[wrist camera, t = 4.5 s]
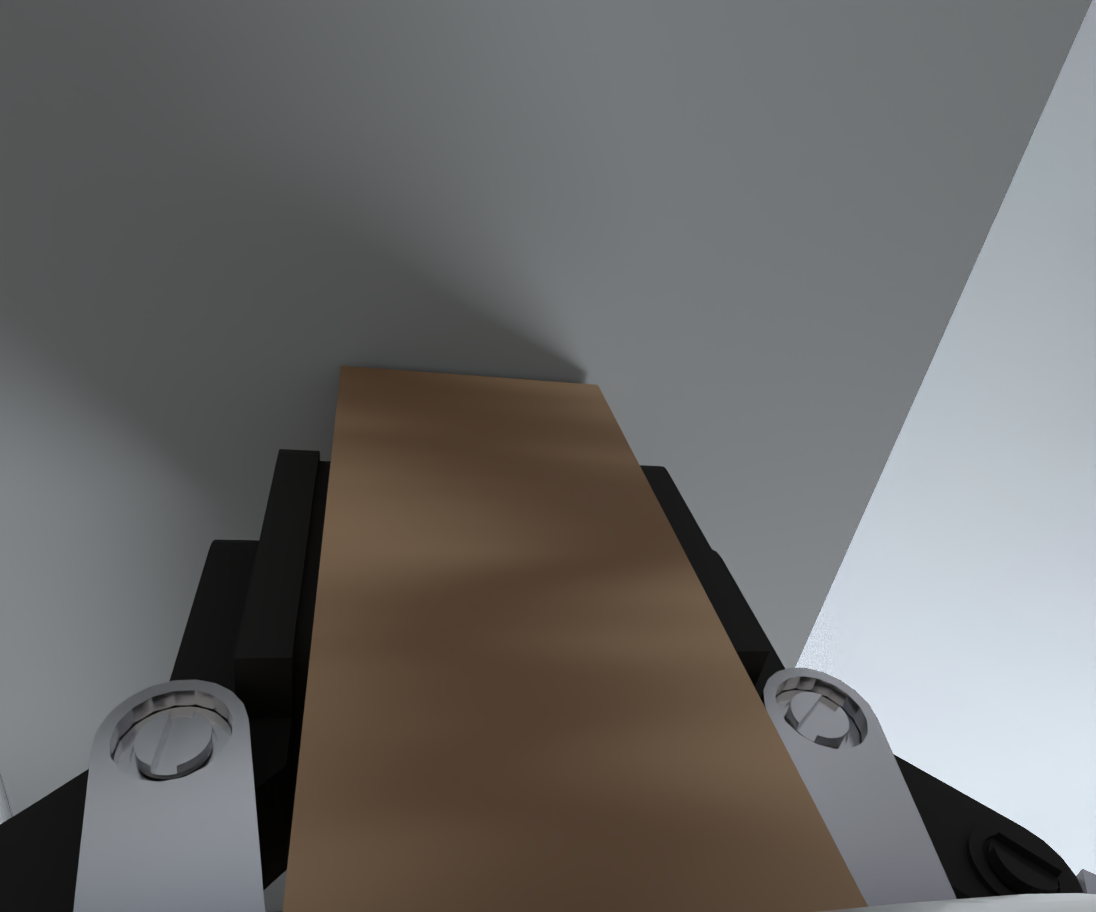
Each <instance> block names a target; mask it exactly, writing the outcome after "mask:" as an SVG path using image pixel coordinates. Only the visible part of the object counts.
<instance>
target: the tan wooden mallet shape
mask: <svg viewBox="0 0 1096 912" xmlns="http://www.w3.org/2000/svg"><path fill="white" fill-rule="evenodd" d="M860 907H868V905H867V903H866V902H865V900H864V898H863V896H862V894H861V892H860V890H859V888H858V886H857V884H856V882H855V880H854V878H853V876H852V874H851V873H850V871H849V869H848V867H847V865H846V863H845V861H844V859H843V857H842V855H841V853H840V851H839V849H838V847H837V845H836V844H835V842H834V840H833V838H832V836H831V834H830V832H829V830H828V828H827V826H826V824H825V822H824V820H823V818H822V817H821V815H820V813H819V811H818V809H817V807H816V805H815V803H814V801H813V799H812V797H811V795H810V793H809V791H808V789H807V788H806V786H805V784H804V782H803V780H802V778H801V776H800V774H799V772H798V770H797V768H796V766H795V764H794V762H793V761H792V759H791V757H790V755H789V753H788V751H787V749H786V747H785V745H784V743H783V741H782V739H781V737H780V735H779V733H778V732H777V730H776V728H775V726H774V724H773V722H772V720H771V718H770V716H769V714H768V712H767V710H766V708H765V706H764V705H763V703H762V701H761V699H760V697H759V695H758V693H757V691H756V689H755V687H754V685H753V683H752V681H751V679H750V677H749V676H748V674H747V672H746V670H745V668H744V666H743V664H742V662H741V660H740V658H739V656H738V654H737V652H736V650H735V649H734V647H733V645H732V643H731V641H730V639H729V637H728V635H727V633H726V631H725V629H724V627H723V625H722V623H721V621H720V620H719V618H718V616H717V614H716V612H715V610H714V608H713V606H712V604H711V602H710V600H709V598H708V596H707V594H706V593H705V591H704V589H703V587H702V585H701V583H700V581H699V579H698V577H697V575H696V573H695V571H694V569H693V567H692V565H691V564H690V562H689V560H688V558H687V556H686V554H685V552H684V550H683V548H682V546H681V544H680V542H679V540H678V538H677V536H676V535H675V533H674V531H673V529H672V527H671V525H670V523H669V521H668V519H667V517H666V515H665V513H664V511H663V509H662V508H661V506H660V504H659V502H658V500H657V498H656V496H655V494H654V492H653V490H652V488H651V486H650V484H649V482H648V480H647V479H646V477H645V475H644V473H643V471H642V469H641V467H640V465H639V463H638V461H637V459H636V457H635V455H634V453H633V452H632V450H631V448H630V446H629V444H628V442H627V440H626V438H625V436H624V434H623V432H622V430H621V428H620V426H619V424H618V423H617V421H616V419H615V417H614V415H613V413H612V411H611V409H610V407H609V405H608V403H607V401H606V399H605V397H604V396H603V394H602V392H601V390H600V388H599V386H598V385H593V384H580V383H566V382H553V381H540V380H526V379H513V378H500V377H486V376H473V375H460V374H447V373H433V372H420V371H407V370H393V369H380V368H367V367H353V366H341V370H340V380H339V389H338V398H337V408H336V417H335V426H334V436H333V445H332V454H331V464H330V473H329V482H328V492H327V501H326V511H325V520H324V529H323V539H322V548H321V557H320V567H319V576H318V585H317V595H316V604H315V613H314V623H313V632H312V641H311V651H310V660H309V669H308V679H307V688H306V697H305V707H304V716H303V725H302V735H301V744H300V753H299V763H298V772H297V781H296V791H295V800H294V809H293V819H292V828H291V837H290V847H289V856H288V865H287V875H286V884H285V893H284V903H283V912H818V911H829V910H839V909H850V908H860Z"/></svg>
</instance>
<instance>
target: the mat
mask: <svg viewBox="0 0 1096 912" xmlns="http://www.w3.org/2000/svg"><path fill="white" fill-rule="evenodd" d="M1091 1H1092V0H0V774H1V778H2V781H3V785H4V788H5V792H6V796H7V799H8V803H9V806H10V810H11V813H12V817H13V816H15V815H16V814H18V813H20V812H21V811H23V810H24V809H26V808H28V807H29V806H31V805H32V804H34V803H35V802H37V801H39V800H40V799H42V798H43V797H45V796H46V795H48V794H50V793H51V792H53V791H54V790H56V789H58V788H59V787H61V786H62V785H64V784H65V783H67V782H69V781H70V780H72V779H73V778H75V777H76V776H78V775H80V774H81V773H83V772H84V771H86V770H88V769H89V764H90V755H91V747H92V744H93V741H94V738H95V735H96V732H97V729H98V727H99V726H100V725H101V723H102V722H103V721H104V719H105V718H106V717H107V715H108V714H109V713H110V711H112V710H113V709H114V708H116V707H117V706H118V705H119V704H121V703H122V702H123V701H124V700H126V699H127V698H128V697H130V696H132V695H134V694H136V693H138V692H140V691H142V690H144V689H146V688H148V687H150V686H154V685H158V684H162V683H166V682H169V681H170V678H171V674H172V671H173V668H174V664H175V661H176V658H177V654H178V651H179V648H180V644H181V641H182V638H183V634H184V631H185V628H186V624H187V621H188V618H189V614H190V611H191V608H192V604H193V601H194V598H195V594H196V591H197V588H198V584H199V581H200V578H201V574H202V571H203V568H204V564H205V561H206V558H207V554H208V551H209V548H210V546H211V543H212V542H213V541H214V540H215V539H216V540H259V539H260V534H261V530H262V525H263V520H264V516H265V511H266V507H267V502H268V497H269V493H270V488H271V484H272V479H273V474H274V470H275V465H276V461H277V456H278V452H279V449H291V450H314V451H320V461H331V454H332V445H333V436H334V426H335V417H336V408H337V398H338V389H339V380H340V370H341V366H353V367H367V368H380V369H393V370H407V371H420V372H433V373H447V374H460V375H473V376H486V377H500V378H513V379H526V380H540V381H553V382H566V383H580V384H593V385H598V386H599V388H600V390H601V392H602V394H603V396H604V397H605V399H606V401H607V403H608V405H609V407H610V409H611V411H612V413H613V415H614V417H615V419H616V421H617V423H618V424H619V426H620V428H621V430H622V432H623V434H624V436H625V438H626V440H627V442H628V444H629V446H630V448H631V450H632V452H633V453H634V455H635V457H636V459H637V461H638V463H639V465H647V466H663V467H665V468H666V469H667V471H668V473H669V474H670V476H671V478H672V480H673V481H674V483H675V485H676V487H677V488H678V490H679V492H680V494H681V496H682V497H683V499H684V501H685V503H686V504H687V506H688V508H689V510H690V511H691V513H692V515H693V517H694V518H695V520H696V522H697V524H698V526H699V527H700V529H701V531H702V533H703V534H704V536H705V538H706V540H707V541H708V543H709V545H710V547H711V548H712V550H714V551H717V553H718V554H719V555H720V556H721V558H722V559H723V561H724V563H725V564H726V566H727V568H728V570H729V571H730V573H731V575H732V577H733V578H734V580H735V582H736V584H737V585H738V587H739V589H740V591H741V592H742V594H743V596H744V598H745V599H746V601H747V603H748V605H749V606H750V608H751V610H752V611H753V613H754V615H755V617H756V618H757V620H758V622H759V624H760V625H761V627H762V629H763V631H764V632H765V634H766V636H767V638H768V639H769V641H770V643H771V645H772V646H773V648H774V650H775V651H776V653H777V655H778V657H779V658H780V660H781V662H782V664H783V665H784V667H785V669H788V668H795V666H796V664H797V662H798V659H799V657H800V655H801V653H802V650H803V648H804V646H805V644H806V642H807V639H808V637H809V635H810V633H811V630H812V628H813V626H814V624H815V621H816V619H817V617H818V615H819V612H820V610H821V608H822V606H823V603H824V601H825V599H826V597H827V594H828V592H829V590H830V588H831V585H832V583H833V581H834V579H835V576H836V574H837V572H838V570H839V567H840V565H841V563H842V561H843V558H844V556H845V554H846V552H847V549H848V547H849V545H850V543H851V540H852V538H853V536H854V534H855V531H856V529H857V527H858V525H859V522H860V520H861V518H862V516H863V513H864V511H865V509H866V507H867V504H868V502H869V500H870V498H871V495H872V493H873V491H874V489H875V487H876V484H877V482H878V480H879V478H880V475H881V473H882V471H883V469H884V466H885V464H886V462H887V460H888V457H889V455H890V453H891V451H892V448H893V446H894V444H895V442H896V439H897V437H898V435H899V433H900V430H901V428H902V426H903V424H904V421H905V419H906V417H907V415H908V412H909V410H910V408H911V406H912V403H913V401H914V399H915V397H916V394H917V392H918V390H919V388H920V385H921V383H922V381H923V379H924V376H925V374H926V372H927V370H928V367H929V365H930V363H931V361H932V358H933V356H934V354H935V352H936V349H937V347H938V345H939V343H940V340H941V338H942V336H943V334H944V331H945V329H946V327H947V325H948V323H949V320H950V318H951V316H952V314H953V311H954V309H955V307H956V305H957V302H958V300H959V298H960V296H961V293H962V291H963V289H964V287H965V284H966V282H967V280H968V278H969V275H970V273H971V271H972V269H973V266H974V264H975V262H976V260H977V257H978V255H979V253H980V251H981V248H982V246H983V244H984V242H985V239H986V237H987V235H988V233H989V230H990V228H991V226H992V224H993V221H994V219H995V217H996V215H997V212H998V210H999V208H1000V206H1001V203H1002V201H1003V199H1004V197H1005V194H1006V192H1007V190H1008V188H1009V185H1010V183H1011V181H1012V179H1013V176H1014V174H1015V172H1016V170H1017V168H1018V165H1019V163H1020V161H1021V159H1022V156H1023V154H1024V152H1025V150H1026V147H1027V145H1028V143H1029V141H1030V138H1031V136H1032V134H1033V132H1034V129H1035V127H1036V125H1037V123H1038V120H1039V118H1040V116H1041V114H1042V111H1043V109H1044V107H1045V105H1046V102H1047V100H1048V98H1049V96H1050V93H1051V91H1052V89H1053V87H1054V84H1055V82H1056V80H1057V78H1058V75H1059V73H1060V71H1061V69H1062V66H1063V64H1064V62H1065V60H1066V57H1067V55H1068V53H1069V51H1070V48H1071V46H1072V44H1073V42H1074V39H1075V37H1076V35H1077V33H1078V30H1079V28H1080V26H1081V24H1082V21H1083V19H1084V17H1085V15H1086V12H1087V10H1088V8H1089V6H1090V4H1091ZM286 875H287V870H286V871H285V872H284V873H283V874H281V875H280V876H279V877H278V878H277V879H276V880H275V881H274V882H273V883H271V884H270V885H269V886H268V887H267V888H266V889H265V890H264V891H263V893H264V905H265V912H275V911H283V903H284V893H285V884H286Z"/></svg>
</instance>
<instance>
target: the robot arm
mask: <svg viewBox="0 0 1096 912" xmlns="http://www.w3.org/2000/svg"><path fill="white" fill-rule="evenodd" d="M330 464H331V461H320V451H314V450H291V449H279V452H278V456H277V461H276V465H275V470H274V474H273V479H272V484H271V488H270V493H269V497H268V502H267V507H266V511H265V516H264V520H263V525H262V530H261V534H260V539H259V540H216V539H215V540H214V541H213V542H212V543H211V546H210V548H209V551H208V554H207V558H206V561H205V564H204V568H203V571H202V574H201V578H200V581H199V584H198V588H197V591H196V594H195V598H194V601H193V604H192V608H191V611H190V614H189V618H188V621H187V624H186V628H185V631H184V634H183V638H182V641H181V644H180V648H179V651H178V654H177V658H176V661H175V664H174V668H173V671H172V674H171V678H170V681H169V682H166V683H162V684H158V685H154V686H150V687H148V688H146V689H144V690H142V691H140V692H138V693H136V694H134V695H132V696H130V697H128V698H127V699H126V700H124V701H123V702H122V703H121V704H119V705H118V706H117V707H116V708H114V709H113V710H112V711H110V713H109V714H108V715H107V717H106V718H105V719H104V721H103V722H102V723H101V725H100V726H99V727H98V729H97V732H96V735H95V738H94V741H93V744H92V747H91V755H90V764H89V769H88V770H86V771H84V772H83V773H81V774H80V775H78V776H76V777H75V778H73V779H72V780H70V781H69V782H67V783H65V784H64V785H62V786H61V787H59V788H58V789H56V790H54V791H53V792H51V793H50V794H48V795H46V796H45V797H43V798H42V799H40V800H39V801H37V802H35V803H34V804H32V805H31V806H29V807H28V808H26V809H24V810H23V811H21V812H20V813H18V814H16V815H15V816H13V817H12V818H10V819H9V820H7V821H5V822H4V823H2V824H1V825H0V912H265V905H264V893H263V891H264V890H265V889H266V888H267V887H268V886H269V885H270V884H271V883H273V882H274V881H275V880H276V879H277V878H278V877H279V876H280V875H281V874H283V873H284V872H285V871H286V870H287V865H288V856H289V847H290V837H291V828H292V819H293V809H294V800H295V791H296V781H297V772H298V763H299V753H300V744H301V735H302V725H303V716H304V707H305V697H306V688H307V679H308V669H309V660H310V651H311V641H312V632H313V623H314V613H315V604H316V595H317V585H318V576H319V567H320V557H321V548H322V539H323V529H324V520H325V511H326V501H327V492H328V482H329V473H330ZM640 467H641V469H642V471H643V473H644V475H645V477H646V479H647V480H648V482H649V484H650V486H651V488H652V490H653V492H654V494H655V496H656V498H657V500H658V502H659V504H660V506H661V508H662V509H663V511H664V513H665V515H666V517H667V519H668V521H669V523H670V525H671V527H672V529H673V531H674V533H675V535H676V536H677V538H678V540H679V542H680V544H681V546H682V548H683V550H684V552H685V554H686V556H687V558H688V560H689V562H690V564H691V565H692V567H693V569H694V571H695V573H696V575H697V577H698V579H699V581H700V583H701V585H702V587H703V589H704V591H705V593H706V594H707V596H708V598H709V600H710V602H711V604H712V606H713V608H714V610H715V612H716V614H717V616H718V618H719V620H720V621H721V623H722V625H723V627H724V629H725V631H726V633H727V635H728V637H729V639H730V641H731V643H732V645H733V647H734V649H735V650H736V652H737V654H738V656H739V658H740V660H741V662H742V664H743V666H744V668H745V670H746V672H747V674H748V676H749V677H750V679H751V681H752V683H753V685H754V687H755V689H756V691H757V693H758V695H759V697H760V699H761V701H762V703H763V705H764V706H765V708H766V710H767V712H768V714H769V716H770V718H771V720H772V722H773V724H774V726H775V728H776V730H777V732H778V733H779V735H780V737H781V739H782V741H783V743H784V745H785V747H786V749H787V751H788V753H789V755H790V757H791V759H792V761H793V762H794V764H795V766H796V768H797V770H798V772H799V774H800V776H801V778H802V780H803V782H804V784H805V786H806V788H807V789H808V791H809V793H810V795H811V797H812V799H813V801H814V803H815V805H816V807H817V809H818V811H819V813H820V815H821V817H822V818H823V820H824V822H825V824H826V826H827V828H828V830H829V832H830V834H831V836H832V838H833V840H834V842H835V844H836V845H837V847H838V849H839V851H840V853H841V855H842V857H843V859H844V861H845V863H846V865H847V867H848V869H849V871H850V873H851V874H852V876H853V878H854V880H855V882H856V884H857V886H858V888H859V890H860V892H861V894H862V896H863V898H864V900H865V902H866V903H867V905H868V907H860V908H850V909H839V910H829V911H818V912H1096V875H1095V874H1093V873H1091V872H1088V871H1086V870H1084V869H1082V870H1081V871H1080V872H1079V874H1078V875H1077V876H1075V874H1074V873H1073V872H1072V870H1071V869H1070V868H1069V867H1068V865H1067V864H1066V863H1065V861H1064V860H1063V859H1062V858H1061V857H1060V856H1059V855H1058V854H1057V853H1056V852H1055V851H1054V850H1053V849H1052V848H1051V847H1050V846H1049V845H1048V844H1046V843H1045V842H1044V841H1043V840H1042V839H1040V838H1039V837H1037V836H1036V835H1034V834H1033V833H1031V832H1030V831H1028V830H1027V829H1025V828H1024V827H1022V826H1020V825H1018V824H1017V823H1015V822H1013V821H1011V820H1009V819H1008V818H1006V817H1004V816H1002V815H1001V814H999V813H997V812H995V811H993V810H992V809H990V808H988V807H986V806H985V805H983V804H981V803H979V802H977V801H976V800H974V799H972V798H970V797H969V796H967V795H965V794H963V793H961V792H960V791H958V790H956V789H954V788H953V787H951V786H949V785H947V784H945V783H944V782H942V781H940V780H938V779H937V778H935V777H933V776H931V775H929V774H928V773H926V772H924V771H922V770H921V769H919V768H917V767H915V766H913V765H912V764H910V763H908V762H906V761H905V760H903V759H901V758H899V757H897V756H896V755H894V754H893V753H892V750H891V748H890V746H889V743H888V741H887V739H886V737H885V734H884V732H883V730H882V728H881V725H880V723H879V721H878V718H877V717H876V715H875V713H874V712H873V710H872V709H871V707H870V705H869V704H868V703H867V702H866V701H865V700H864V699H863V698H862V697H861V696H860V695H859V694H858V693H857V692H856V691H855V690H854V689H852V688H851V687H849V686H848V685H847V684H845V683H844V682H842V681H841V680H839V679H837V678H835V677H832V676H830V675H828V674H826V673H824V672H820V671H816V670H812V669H808V668H788V669H785V667H784V665H783V664H782V662H781V660H780V658H779V657H778V655H777V653H776V651H775V650H774V648H773V646H772V645H771V643H770V641H769V639H768V638H767V636H766V634H765V632H764V631H763V629H762V627H761V625H760V624H759V622H758V620H757V618H756V617H755V615H754V613H753V611H752V610H751V608H750V606H749V605H748V603H747V601H746V599H745V598H744V596H743V594H742V592H741V591H740V589H739V587H738V585H737V584H736V582H735V580H734V578H733V577H732V575H731V573H730V571H729V570H728V568H727V566H726V564H725V563H724V561H723V559H722V558H721V556H720V555H719V554H718V553H717V551H714V550H712V548H711V547H710V545H709V543H708V541H707V540H706V538H705V536H704V534H703V533H702V531H701V529H700V527H699V526H698V524H697V522H696V520H695V518H694V517H693V515H692V513H691V511H690V510H689V508H688V506H687V504H686V503H685V501H684V499H683V497H682V496H681V494H680V492H679V490H678V488H677V487H676V485H675V483H674V481H673V480H672V478H671V476H670V474H669V473H668V471H667V469H666V468H665V467H663V466H647V465H640Z"/></svg>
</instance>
